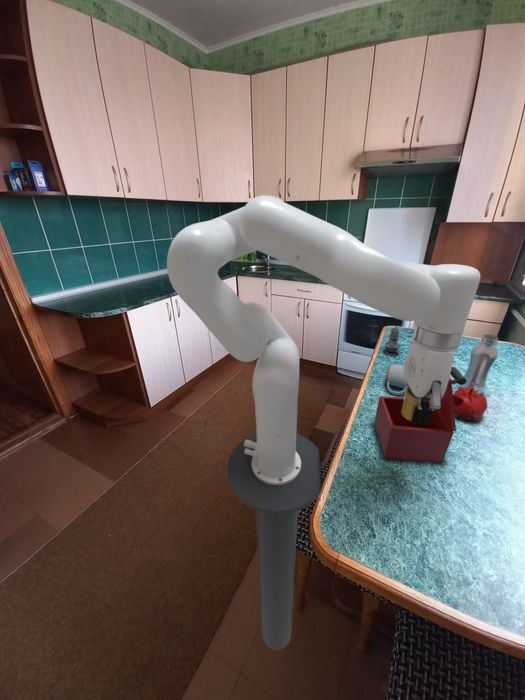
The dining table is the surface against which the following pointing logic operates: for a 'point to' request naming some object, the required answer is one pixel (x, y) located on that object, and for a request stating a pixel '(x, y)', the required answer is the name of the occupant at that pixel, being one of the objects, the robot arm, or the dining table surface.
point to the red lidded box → (410, 433)
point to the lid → (450, 398)
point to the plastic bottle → (481, 363)
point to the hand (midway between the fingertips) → (415, 412)
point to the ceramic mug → (396, 378)
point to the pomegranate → (469, 403)
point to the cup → (410, 403)
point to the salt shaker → (392, 343)
